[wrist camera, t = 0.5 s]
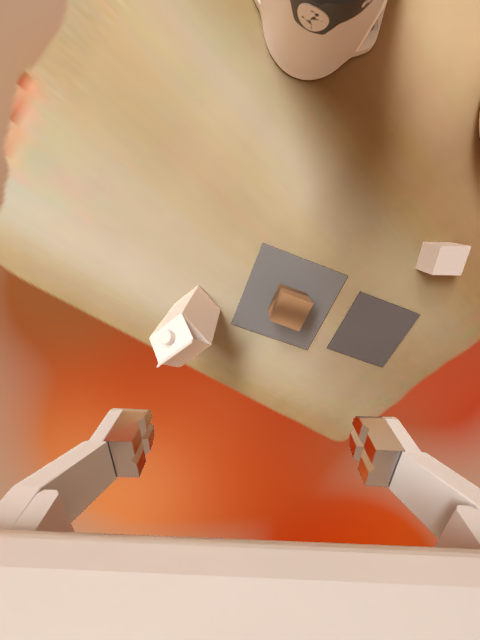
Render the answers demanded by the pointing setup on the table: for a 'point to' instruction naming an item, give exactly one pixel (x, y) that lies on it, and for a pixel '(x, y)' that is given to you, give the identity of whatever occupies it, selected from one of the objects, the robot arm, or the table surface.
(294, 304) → the walnut block
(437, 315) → the table surface
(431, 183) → the table surface
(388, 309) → the mat
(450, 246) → the beige block
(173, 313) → the milk carton
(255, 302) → the tile
